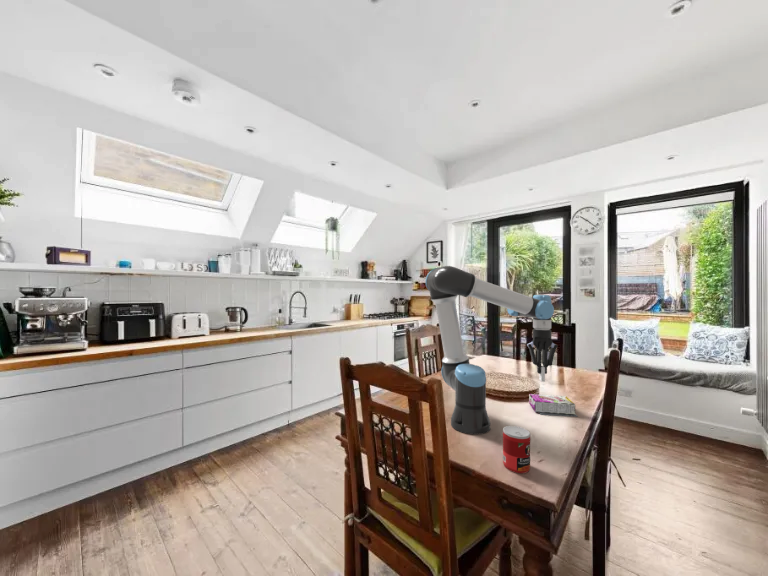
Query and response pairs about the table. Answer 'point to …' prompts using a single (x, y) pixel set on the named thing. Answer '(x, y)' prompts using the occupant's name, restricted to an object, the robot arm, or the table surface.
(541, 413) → the mat
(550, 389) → the table surface
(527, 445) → the canned food
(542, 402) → the candy bar box
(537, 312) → the robot arm
